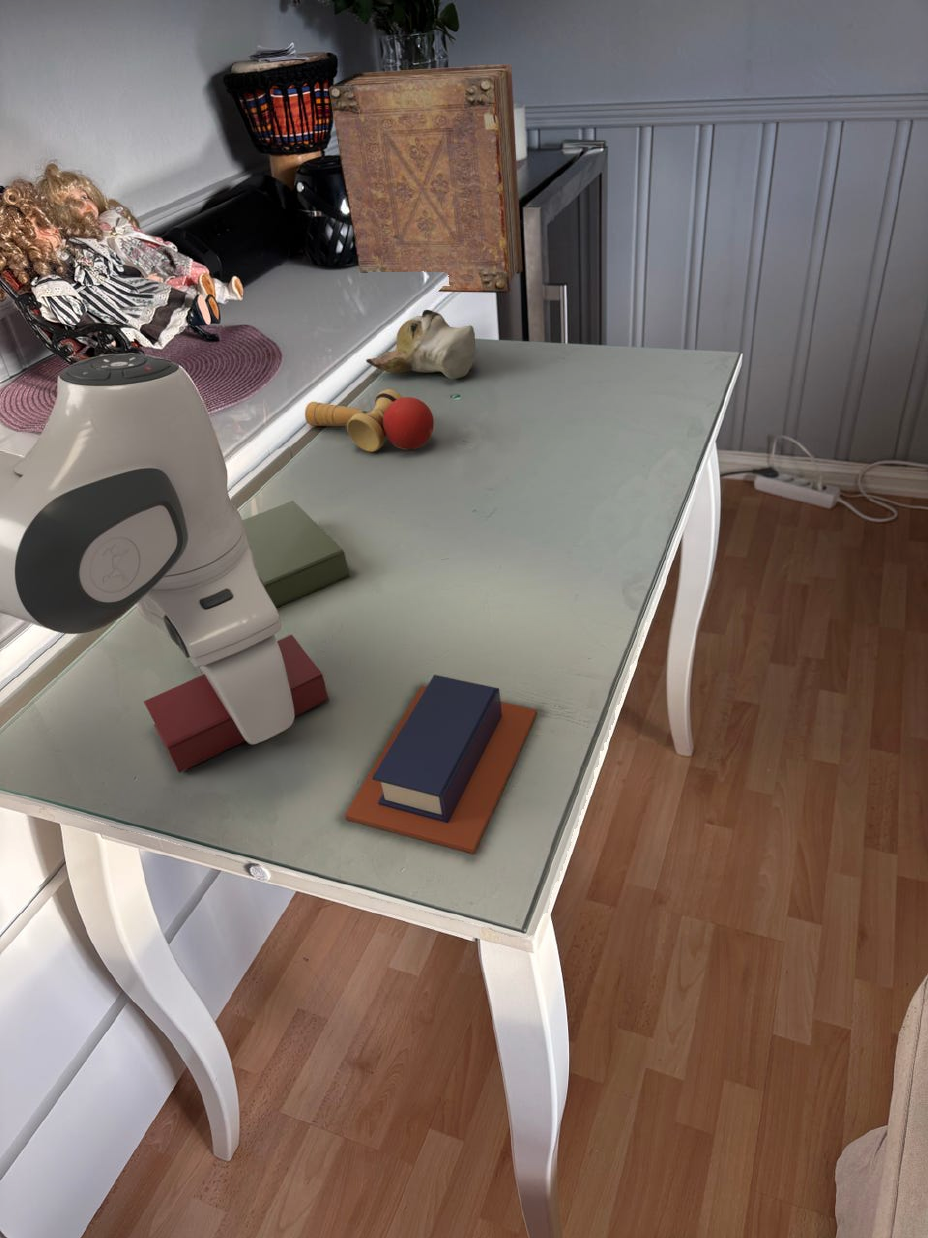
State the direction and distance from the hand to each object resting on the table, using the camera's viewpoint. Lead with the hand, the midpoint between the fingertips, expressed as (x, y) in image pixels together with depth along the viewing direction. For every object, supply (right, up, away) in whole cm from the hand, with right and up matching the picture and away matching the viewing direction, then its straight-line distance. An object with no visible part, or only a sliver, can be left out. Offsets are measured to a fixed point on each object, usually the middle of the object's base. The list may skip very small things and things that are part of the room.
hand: (240, 708), depth 74 cm
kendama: (+7, +29, +37) cm, 48 cm away
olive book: (-3, +11, +16) cm, 20 cm away
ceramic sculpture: (+14, +41, +50) cm, 66 cm away
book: (+15, +63, +77) cm, 101 cm away
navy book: (+17, -3, -5) cm, 18 cm away
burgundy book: (0, 0, +1) cm, 1 cm away
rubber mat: (+17, -4, -5) cm, 18 cm away
